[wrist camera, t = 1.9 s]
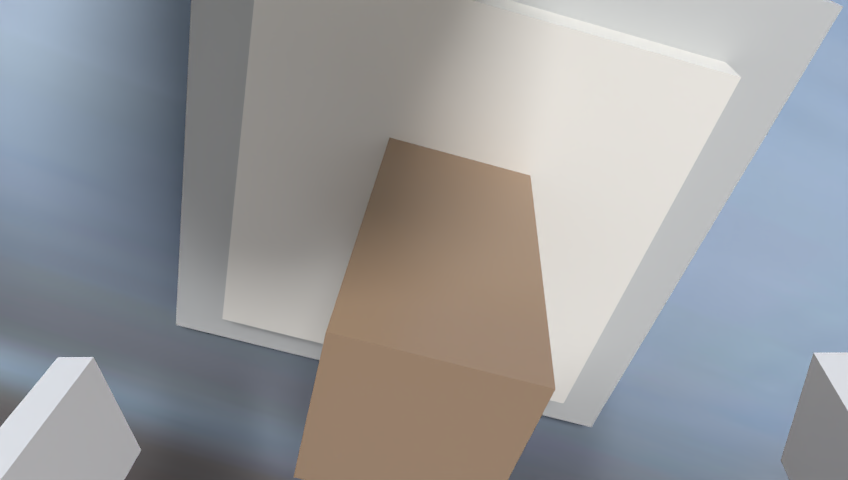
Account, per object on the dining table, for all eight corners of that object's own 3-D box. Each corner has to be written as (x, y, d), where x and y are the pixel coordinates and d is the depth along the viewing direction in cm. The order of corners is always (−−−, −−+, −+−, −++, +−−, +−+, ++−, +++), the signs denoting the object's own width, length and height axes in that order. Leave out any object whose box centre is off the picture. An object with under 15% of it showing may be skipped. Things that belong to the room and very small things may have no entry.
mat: (589, 414, 25) (591, 427, 24) (182, 314, 24) (175, 324, 23) (831, 1, 16) (842, 6, 16) (209, -185, 15) (200, -185, 15)
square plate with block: (560, 378, 23) (595, 652, 15) (234, 297, 22) (100, 542, 15) (726, 62, 17) (929, 263, 9) (274, -68, 16) (71, 29, 8)
